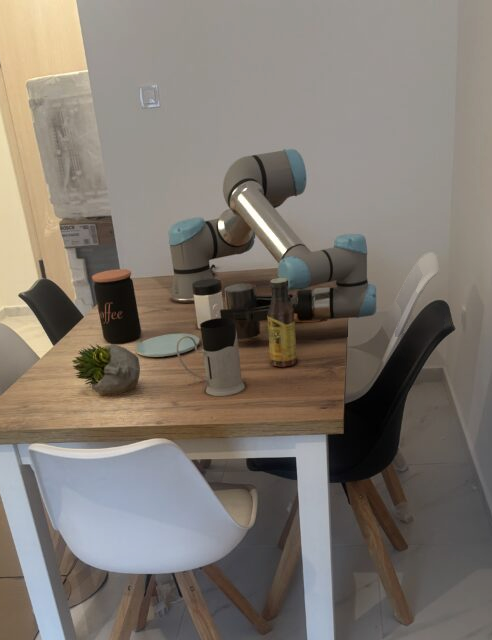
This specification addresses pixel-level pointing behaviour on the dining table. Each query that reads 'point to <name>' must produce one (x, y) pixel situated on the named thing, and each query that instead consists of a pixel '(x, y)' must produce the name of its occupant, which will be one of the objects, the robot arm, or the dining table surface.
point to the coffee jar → (117, 306)
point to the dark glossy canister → (240, 299)
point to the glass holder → (219, 357)
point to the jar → (207, 299)
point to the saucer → (166, 345)
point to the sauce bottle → (281, 325)
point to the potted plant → (108, 369)
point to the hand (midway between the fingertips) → (224, 310)
